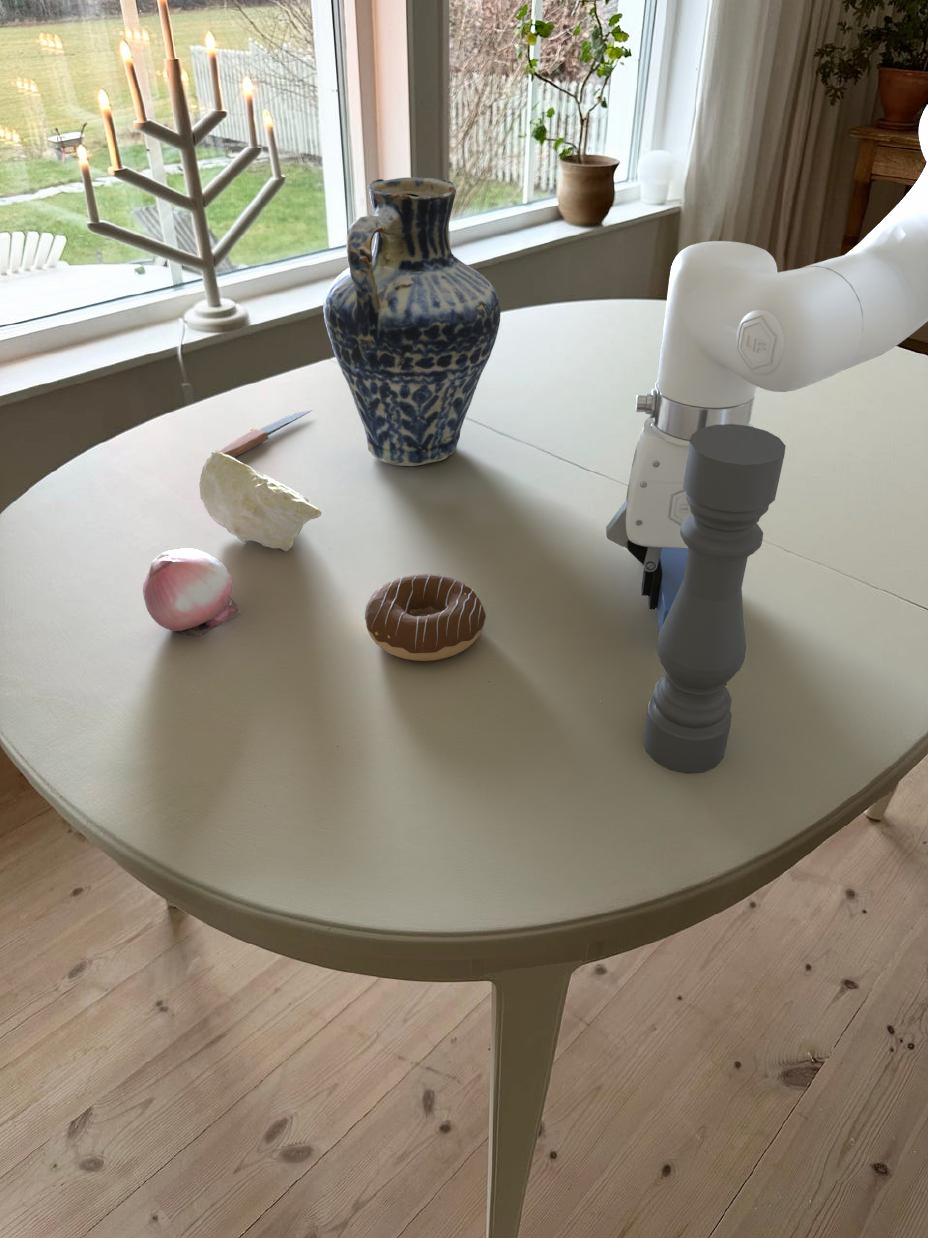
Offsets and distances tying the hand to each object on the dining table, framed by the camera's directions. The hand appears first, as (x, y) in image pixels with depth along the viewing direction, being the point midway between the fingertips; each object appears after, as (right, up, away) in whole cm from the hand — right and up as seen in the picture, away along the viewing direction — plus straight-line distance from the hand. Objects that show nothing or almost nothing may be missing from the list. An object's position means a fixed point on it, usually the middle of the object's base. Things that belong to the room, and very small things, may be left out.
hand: (672, 600), depth 83 cm
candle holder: (-2, -11, -13) cm, 17 cm away
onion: (-43, -2, +1) cm, 43 cm away
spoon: (0, +1, +2) cm, 2 cm away
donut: (-22, -3, -1) cm, 23 cm away
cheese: (-38, +7, +12) cm, 40 cm away
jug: (-25, +18, +28) cm, 42 cm away
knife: (-44, +21, +32) cm, 59 cm away
